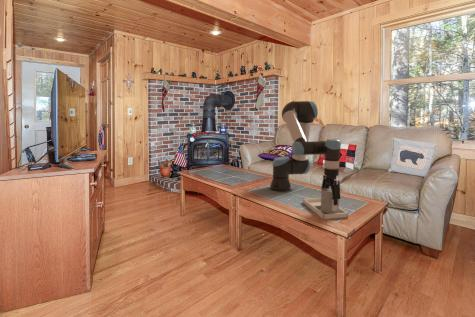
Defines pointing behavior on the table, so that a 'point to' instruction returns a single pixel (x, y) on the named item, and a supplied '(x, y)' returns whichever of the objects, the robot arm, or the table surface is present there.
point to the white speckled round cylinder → (327, 201)
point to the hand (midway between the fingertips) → (329, 207)
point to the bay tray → (316, 207)
